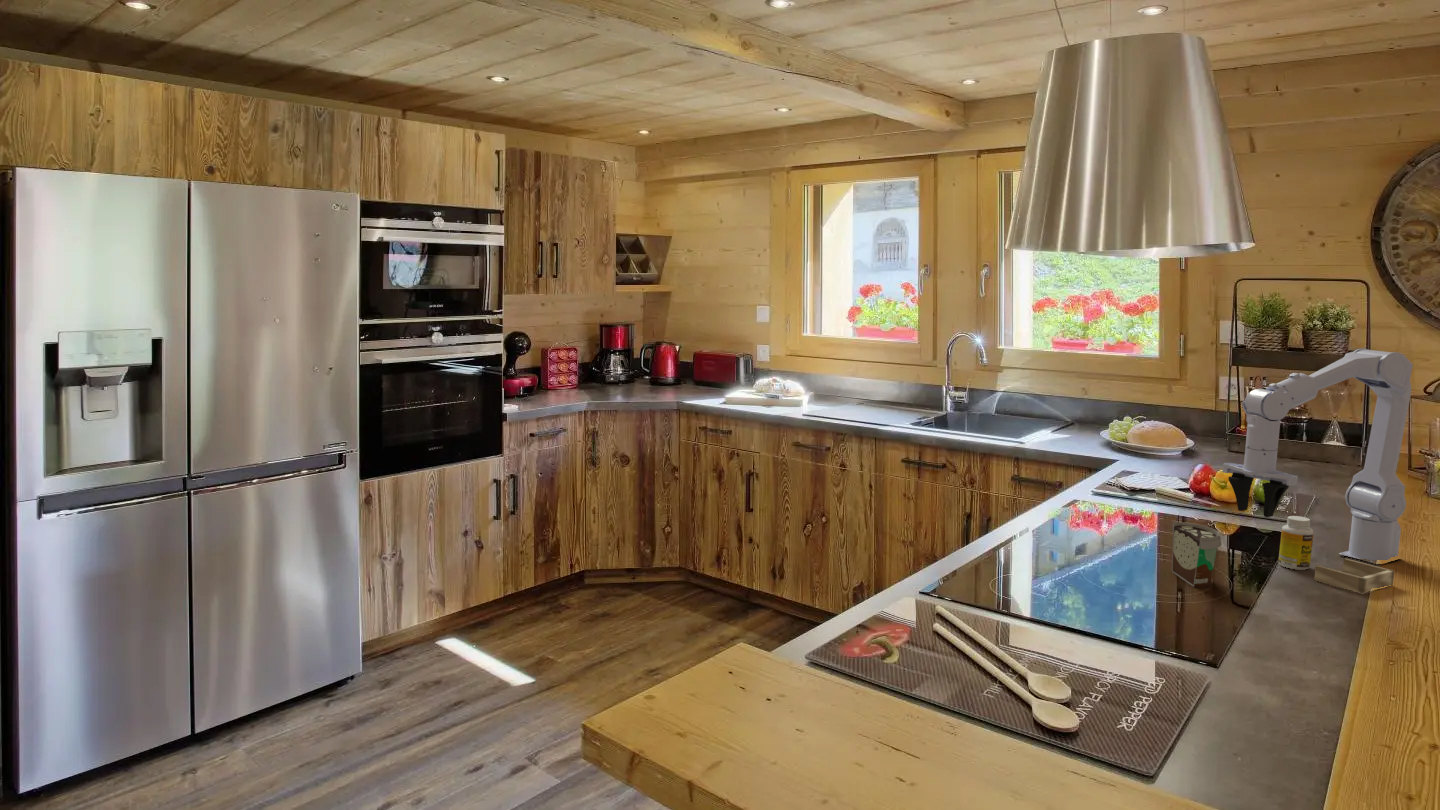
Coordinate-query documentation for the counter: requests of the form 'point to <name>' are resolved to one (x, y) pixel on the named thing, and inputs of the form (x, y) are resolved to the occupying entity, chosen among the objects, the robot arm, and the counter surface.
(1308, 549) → the supplement bottle
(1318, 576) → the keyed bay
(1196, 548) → the food container
